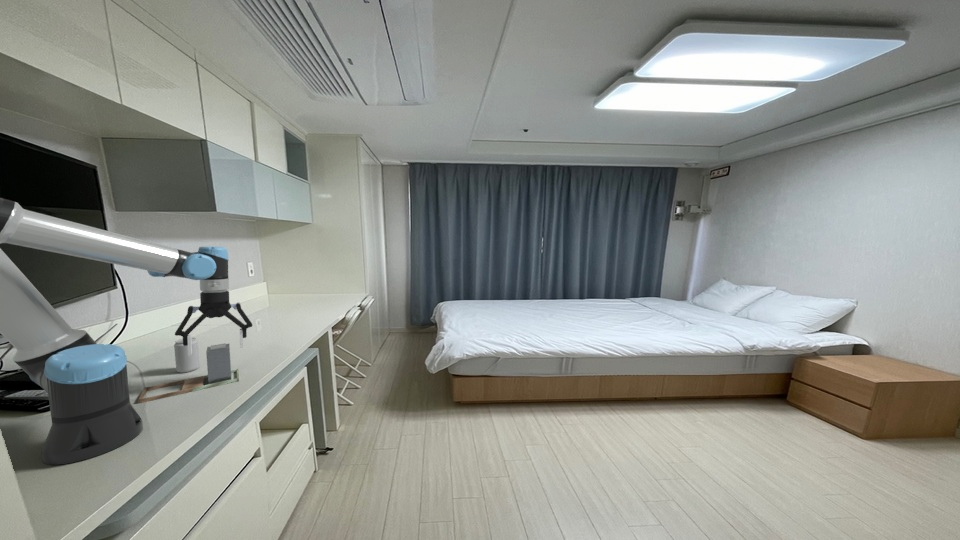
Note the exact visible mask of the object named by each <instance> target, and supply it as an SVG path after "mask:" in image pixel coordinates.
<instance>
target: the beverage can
mask: <svg viewBox="0 0 960 540" xmlns="http://www.w3.org/2000/svg"><path fill="white" fill-rule="evenodd" d="M191 338H192V355H189V356H188V345H187V346H184V345H183V338H180V339H178V340H177V339H176V340H175V343H174V345H173V347H174V348H173V349H174V357H175V358H174V360H175V371H176V372H178V373H179V374H186V373H191V372H193V371H195V370H197V369H199V367H200V355H199V354H200V353H199V341H198V340H197V337H191Z"/></svg>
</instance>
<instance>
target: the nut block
mask: <svg viewBox="0 0 960 540" xmlns="http://www.w3.org/2000/svg"><path fill="white" fill-rule="evenodd" d="M230 346H231V345H230V343H226V342H225V343H218V344H211V345H210V346H207V348H206V352H205V354H206V364H207V367H206V368H207V375H208V378H207V380H208V381H207V383H208V384H213V383H217V382H222V381H227V380H231V379H232V373H231V370H232V365H231V364H232V363H231V361H232V360H231V350H230V349H231V347H230ZM208 384H207V385H208Z"/></svg>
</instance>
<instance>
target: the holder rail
mask: <svg viewBox="0 0 960 540" xmlns="http://www.w3.org/2000/svg"><path fill="white" fill-rule="evenodd" d="M234 372H235V373H236V378H231V380H227V381H222V382H217V383H213V384H205V385H204V383H205V379H208V374H206V375H200V376H195V377H191V378H186V379H181V380H177V381H176V380H175V381H171V382H166V383H160V384H156V385H151V386H150V385H149V386H146V387H144V388H143V390H142V392H141V394H140V395H139V398H137V404H140V403H141V404H142V403H147V402H150V401H154V400H160V399H163V398H168V397H173V396H178V395H181V394H188V393H192V392H195V391H199V390H206V389H210V388H214V387H218V386H222V385H223V384H224V385H226V384H227V383H228V384H232V383H231V382H233V383H236V382H235V381H237V382H239V381H240V377H239V376H240V375H239V368H235V369H231V374H234ZM181 384H183V385H182V388H181V390H176V391H171V392H166V393H163V394H162V393H161V394H158V395H152V396H148V397H145V396H146V393H147V391H152V390H156V389H161V388H166V387H170V386H176V385H181ZM228 384H227V385H228Z"/></svg>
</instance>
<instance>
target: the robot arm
mask: <svg viewBox="0 0 960 540" xmlns="http://www.w3.org/2000/svg"><path fill="white" fill-rule="evenodd" d="M1 244H9V245H15V246H20V247H25V248H30V249H31V248H32V249H35V250H41V251H46V252H51V253H56V254H61V255H67V256H72V257H76V258H83V259H87V260H93V261H97V262H98V261H99V262H103V263H106V264H112V265H117V266H118V265H119V266H123V267H128V268H134V269H139V270H145V271H146V272H147V273H148V274H149V275H150V276H151V277H153V278H156V277H157V278H166V277H177V278H184V279H189V280H192V281H199V290H200V291H201V292H200V293H199V295H200V299H199V300H200V305H199V306H193V305H189V306H188V308H187V312H186V315H185V317H184V318H183V320H182V321H181V323H180V324H179V326H178V328H177V329H176V330H175V332H174V336H177V337H178V336H180V337H182V339H183V345H184V346H187V345H188V356H189V355H192V338H193V337H192V334H191V332H193V331H194V330H195V329H196V327H198V326H199V325H200V324H201V323H202V322H203V321H204V320H206V318H209V319H214V318H222V317H225V318H228V319H229V320H230V321H232V323H234V324H235V325H236V326H238V327H239V348H242V349H243V348H244V345H243V344H244V340H243V339H246V338H247V335H248V334H247V330H248V329H249V328H251V327H253V322H251V320H250V318H249V317H248V316H247V315H246V313H245V312H244V310H243V308H242V305H241V303H240V301H239V302H236V303H230V291H229V289H230V284H229V282H230V281H229V279H230V278H229V254H228V249H227V248H226V247H224V246H199V247H198V250H197V251H195V252H190V251H187V250H183V249H177V248H175V247H171V246H168V245H163V244H159V243H157V242H152V241H148V240H145V239H140V238H136V237H133V236H129V235H125V234H121V233H117V232H112V231H109V230H105V229H102V228H97V227H95V226H90V225H87V224H84V223H83V224H82V223H78V222H74V221H71V220H67V219H63V218H59V217H55V216H52V215H48V214H45V213H39V212H36V211H33V210H29V209H24V208H23V207H22V205H20V204H19V202H16V201H13V200H10V199H6V198H3V197H0V245H1ZM231 308H233V309H234V311H235V310H236V311H237V312H238V314H239V316H240V317H241V318H242V320H243V321H244V322H245V323H243V322H242V321H241V320H239V319H238V318H237V317H236V316H234V315H233V314H232V313H231V312H230V310H231ZM197 311H199V312H200V313H201V315H200V316H199V317H198V318H197V319H196V320H195V321H194V322H193V323H192V324H191V325H190V326H188V327H187V328H186V330H185V331H184V330H183V329H184V328H185V326H186V325H187V323H188V322H189V320H190V319H191V317H192V315H193V314H195V313H196V312H197ZM0 335H1V336H2V337H3V338H4V339H6V340H7V342H9V344H10V345H12V346H13V348H14V349H16V352H15V354H14V356H13V357H12V361H13V362H14V363H16V365H18V366H19V368H21V369H22V371H24V372H25V373H26V374H27V375H28V376H29V379H30V380H31V381H32V382H34V384H36V385H38V386H40V388H41V389H42V390H44V392H46V393H47V396H48V401H49V410H50V411H49V412H50V417H51V426H50V428H49V432H48V434H47V435H46V439H45V440H44V441H45V442H44V444H43V447H42V449H41V457H42V463H44V464H46V465H50V466H51V465H52V466H55V465H57V466H58V465H67V464H71V463H76V462H80V461H84V460H89V459H91V458H95V457H98V456H100V455H103V454H106V453H108V452H111V451H113V450H115V449H117V448H120V447H122V446H124V445H125V444H127V443H129V442H131V441H132V440H134V439H135V438H136V437H138V436H139V435H140V434H141V433H142V431H143V429H144V428H143V427H144V426H143V419H142V417H141V416H140V415H139V414H138V412H137V411H136V409H135V408H134V407H133V405H132V404H131V399H130V397H131V396H130V388H129V378H128V366H127V362H128V358H127V356H126V351H125V350H124V348H123V347H121V346H119V345H117V344H111V343H108V344H104V343H97V342H96V341H95V340H94V339H93V337H92V336H91V335H90V334H89V333H88V332H87V331H86V330H85V329H75V328H72V327H71V326H70V325H69V323H68V322H67V321H66V320H65V319H64V317H62V316H61V314H59V312H58V311H57V310H56V308H54V307H53V306H52V304H51V303H50V302H49V301H48V300H47V299H46V298H45V297H44V296H43V294H42V293H41V292H40V291H39V290H38V289H37V288H36V287H35V286H34V285H33V283H32V282H31V281H30V280H29V279H28V277H27V276H26V275H25V274H24V273H23V272H22V271H21V270H20V268H18V266H17V265H16V264H15V263H14V262H13V261H12V260H11V259H10V257H9V256H8V255H7V254H6V253H5V252H4V251H3V249H2V248H1V247H0Z"/></svg>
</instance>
